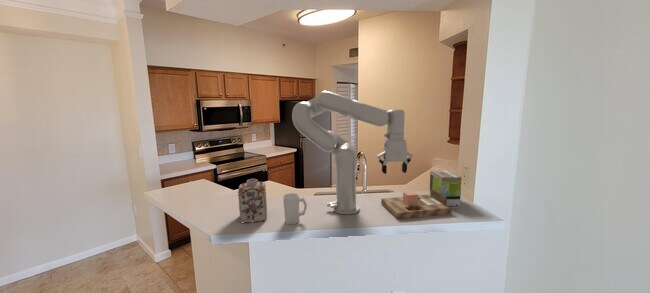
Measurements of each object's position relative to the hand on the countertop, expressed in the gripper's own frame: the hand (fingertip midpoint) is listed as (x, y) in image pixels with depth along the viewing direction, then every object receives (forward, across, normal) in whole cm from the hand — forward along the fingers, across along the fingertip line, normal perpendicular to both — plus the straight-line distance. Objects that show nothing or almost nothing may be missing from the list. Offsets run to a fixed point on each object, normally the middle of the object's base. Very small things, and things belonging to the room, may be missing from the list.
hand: (394, 172), depth 122 cm
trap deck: (+18, +10, 0) cm, 21 cm away
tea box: (+18, +30, +6) cm, 36 cm away
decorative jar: (+20, -66, +6) cm, 69 cm away
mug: (+20, -46, -2) cm, 51 cm away
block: (+15, +8, 0) cm, 17 cm away
